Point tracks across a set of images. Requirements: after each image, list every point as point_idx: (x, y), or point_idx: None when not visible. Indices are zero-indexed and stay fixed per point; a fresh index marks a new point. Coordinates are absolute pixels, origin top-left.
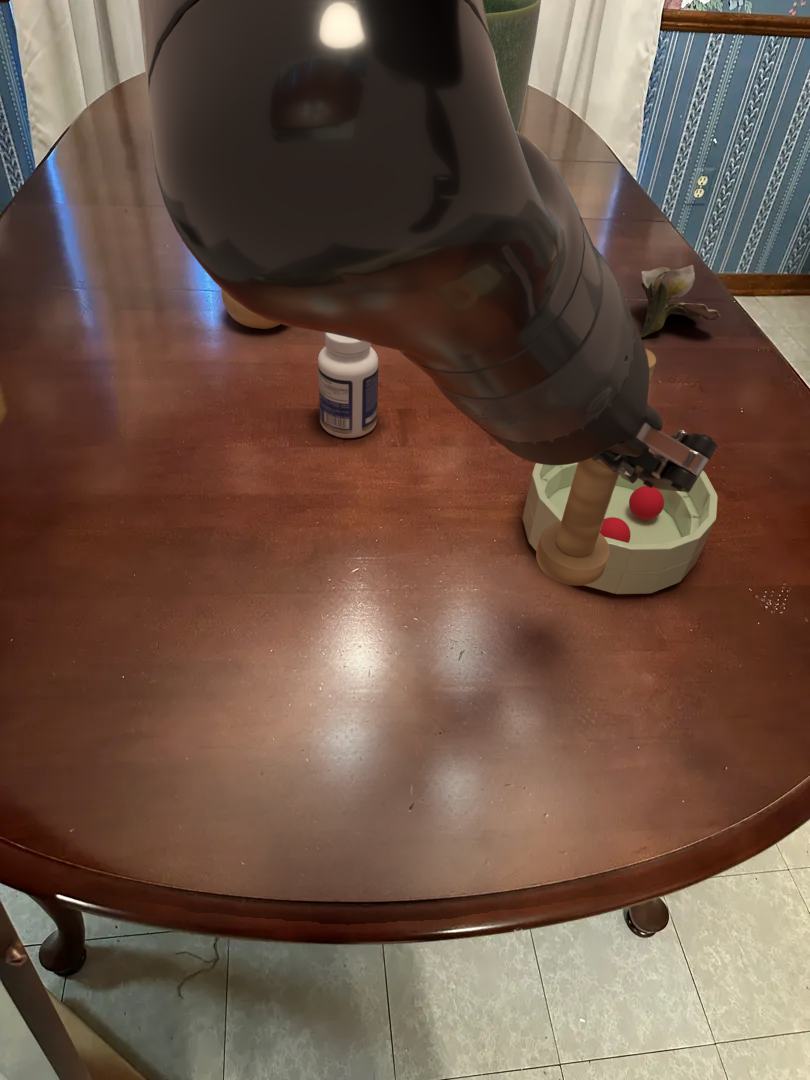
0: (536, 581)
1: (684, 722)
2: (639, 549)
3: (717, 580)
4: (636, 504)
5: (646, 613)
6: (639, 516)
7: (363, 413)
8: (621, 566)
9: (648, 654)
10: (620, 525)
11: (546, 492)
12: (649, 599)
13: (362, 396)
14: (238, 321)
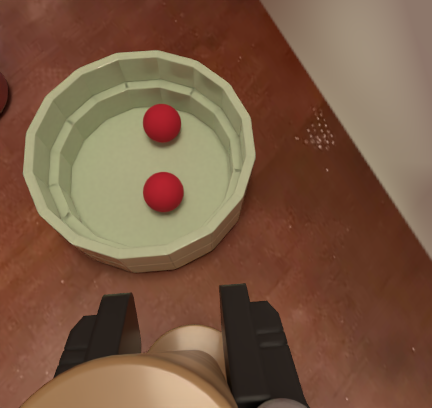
0: (136, 295)
1: (356, 333)
2: (218, 225)
3: (269, 150)
4: (157, 136)
5: (247, 241)
6: (166, 141)
7: None
8: (208, 242)
9: (281, 287)
10: (167, 185)
11: (65, 188)
12: (237, 223)
13: None
14: None
